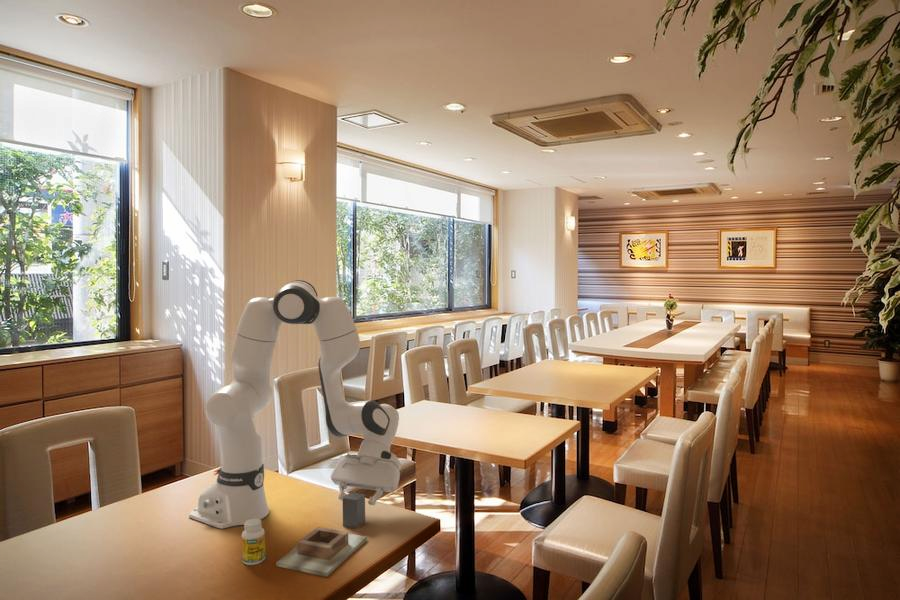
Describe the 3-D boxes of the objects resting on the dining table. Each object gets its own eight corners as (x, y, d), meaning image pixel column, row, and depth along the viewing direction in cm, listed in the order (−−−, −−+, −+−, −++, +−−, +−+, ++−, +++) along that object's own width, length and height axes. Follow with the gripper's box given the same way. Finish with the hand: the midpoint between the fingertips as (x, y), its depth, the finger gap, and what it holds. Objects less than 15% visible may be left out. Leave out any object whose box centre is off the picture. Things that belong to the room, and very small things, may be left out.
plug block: (342, 526, 160) (342, 497, 160) (351, 519, 164) (350, 491, 164) (357, 528, 159) (356, 500, 158) (365, 521, 163) (364, 494, 162)
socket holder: (276, 566, 139) (276, 549, 139) (320, 532, 157) (320, 517, 156) (326, 576, 134) (326, 560, 134) (366, 540, 152) (366, 525, 151)
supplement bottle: (262, 552, 145) (261, 515, 145) (268, 561, 141) (267, 523, 140) (239, 558, 142) (238, 520, 142) (245, 568, 138) (244, 528, 137)
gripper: (337, 448, 172) (319, 492, 164) (399, 455, 165) (384, 502, 157) (345, 458, 177) (328, 501, 168) (406, 465, 170) (392, 511, 161)
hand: (356, 502), depth 162 cm, fingers open, 8 cm apart
